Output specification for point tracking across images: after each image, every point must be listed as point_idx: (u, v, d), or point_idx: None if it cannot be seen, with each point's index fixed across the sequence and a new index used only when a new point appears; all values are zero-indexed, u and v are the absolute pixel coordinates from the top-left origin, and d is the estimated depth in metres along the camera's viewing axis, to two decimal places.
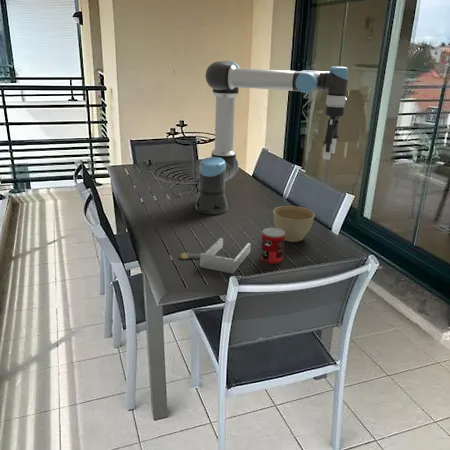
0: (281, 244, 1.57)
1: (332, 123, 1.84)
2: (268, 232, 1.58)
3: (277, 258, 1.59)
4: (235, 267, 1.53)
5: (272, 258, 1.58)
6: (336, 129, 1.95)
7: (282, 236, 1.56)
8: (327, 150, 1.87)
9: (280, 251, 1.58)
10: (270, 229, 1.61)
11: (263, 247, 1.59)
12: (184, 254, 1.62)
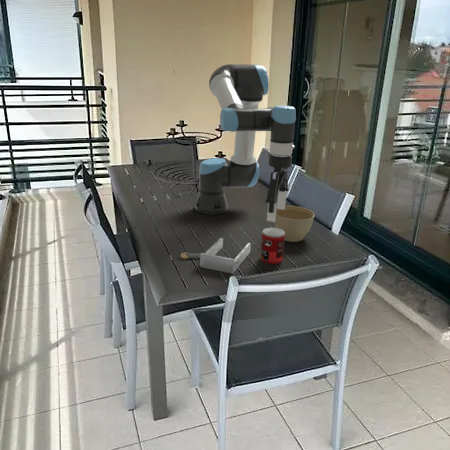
0: (281, 244, 1.57)
1: (275, 177, 1.45)
2: (268, 232, 1.58)
3: (277, 258, 1.59)
4: (235, 267, 1.53)
5: (272, 258, 1.58)
6: (284, 181, 1.56)
7: (282, 236, 1.56)
8: (270, 211, 1.48)
9: (280, 251, 1.58)
10: (270, 229, 1.61)
11: (263, 247, 1.59)
12: (184, 254, 1.62)
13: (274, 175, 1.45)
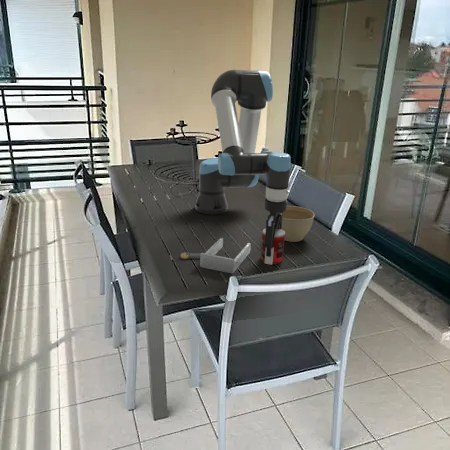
0: (281, 244, 1.57)
1: (271, 225, 1.51)
2: None
3: (277, 258, 1.59)
4: (235, 267, 1.53)
5: None
6: (279, 226, 1.60)
7: (282, 236, 1.56)
8: (268, 254, 1.56)
9: (280, 251, 1.58)
10: None
11: (263, 247, 1.59)
12: (184, 254, 1.62)
13: (269, 223, 1.51)
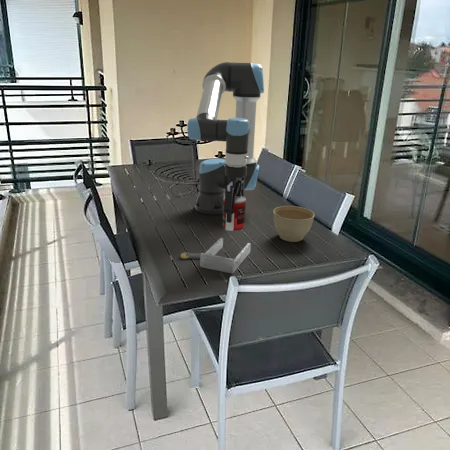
0: (242, 210, 1.58)
1: (230, 190, 1.52)
2: None
3: (238, 225, 1.60)
4: (235, 267, 1.53)
5: None
6: (240, 193, 1.61)
7: (242, 202, 1.57)
8: (228, 220, 1.57)
9: (241, 217, 1.59)
10: None
11: (224, 214, 1.60)
12: (184, 254, 1.62)
13: (228, 188, 1.52)
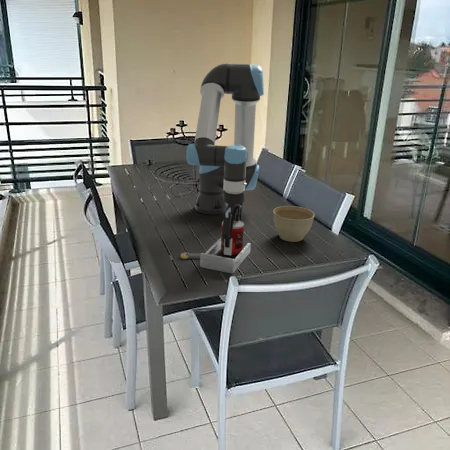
0: (240, 235, 1.61)
1: (228, 216, 1.54)
2: None
3: (236, 249, 1.62)
4: (235, 267, 1.53)
5: None
6: (238, 218, 1.64)
7: (240, 227, 1.60)
8: (226, 245, 1.60)
9: (239, 242, 1.62)
10: None
11: None
12: (184, 254, 1.62)
13: (226, 214, 1.54)
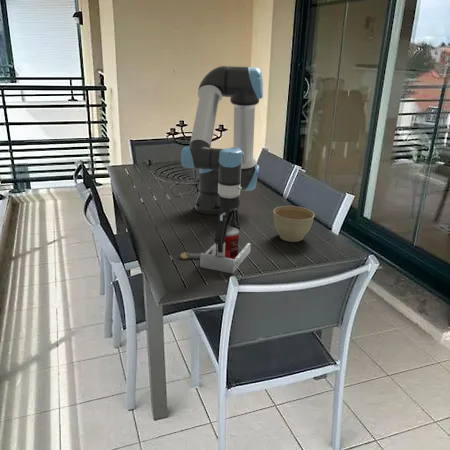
0: (235, 243, 1.57)
1: (222, 219, 1.50)
2: None
3: (231, 257, 1.58)
4: (235, 267, 1.53)
5: (226, 257, 1.58)
6: (234, 220, 1.60)
7: (235, 235, 1.56)
8: (219, 250, 1.53)
9: (234, 250, 1.58)
10: None
11: None
12: (184, 254, 1.62)
13: (221, 217, 1.49)
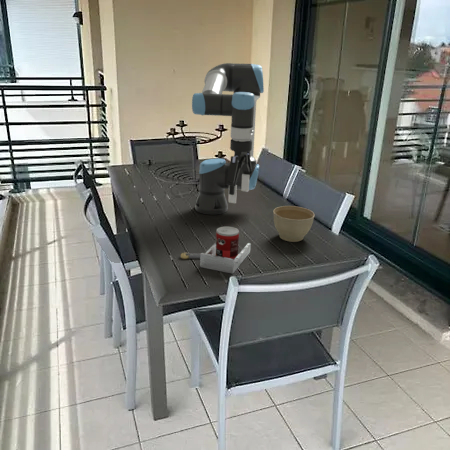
0: (235, 243, 1.57)
1: (235, 161, 1.53)
2: (222, 231, 1.58)
3: (231, 257, 1.58)
4: (235, 267, 1.53)
5: (226, 257, 1.58)
6: (246, 165, 1.63)
7: (235, 235, 1.56)
8: (231, 192, 1.56)
9: (234, 250, 1.58)
10: (225, 228, 1.61)
11: (217, 246, 1.58)
12: (184, 254, 1.62)
13: (234, 159, 1.53)
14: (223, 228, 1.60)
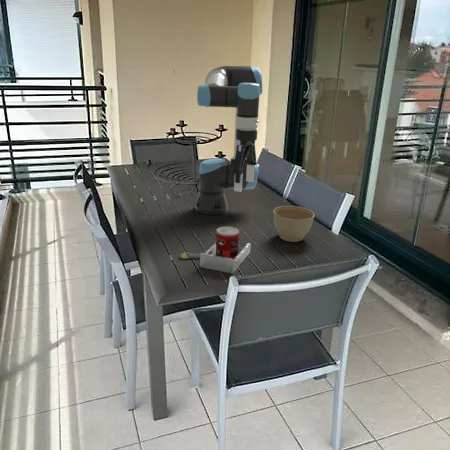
0: (235, 243, 1.57)
1: (241, 150, 1.56)
2: (222, 231, 1.58)
3: (231, 257, 1.58)
4: (235, 267, 1.53)
5: (226, 257, 1.58)
6: (251, 155, 1.67)
7: (235, 235, 1.56)
8: (237, 181, 1.59)
9: (234, 250, 1.58)
10: (225, 228, 1.61)
11: (217, 246, 1.58)
12: (184, 254, 1.62)
13: (240, 147, 1.56)
14: (223, 228, 1.60)
